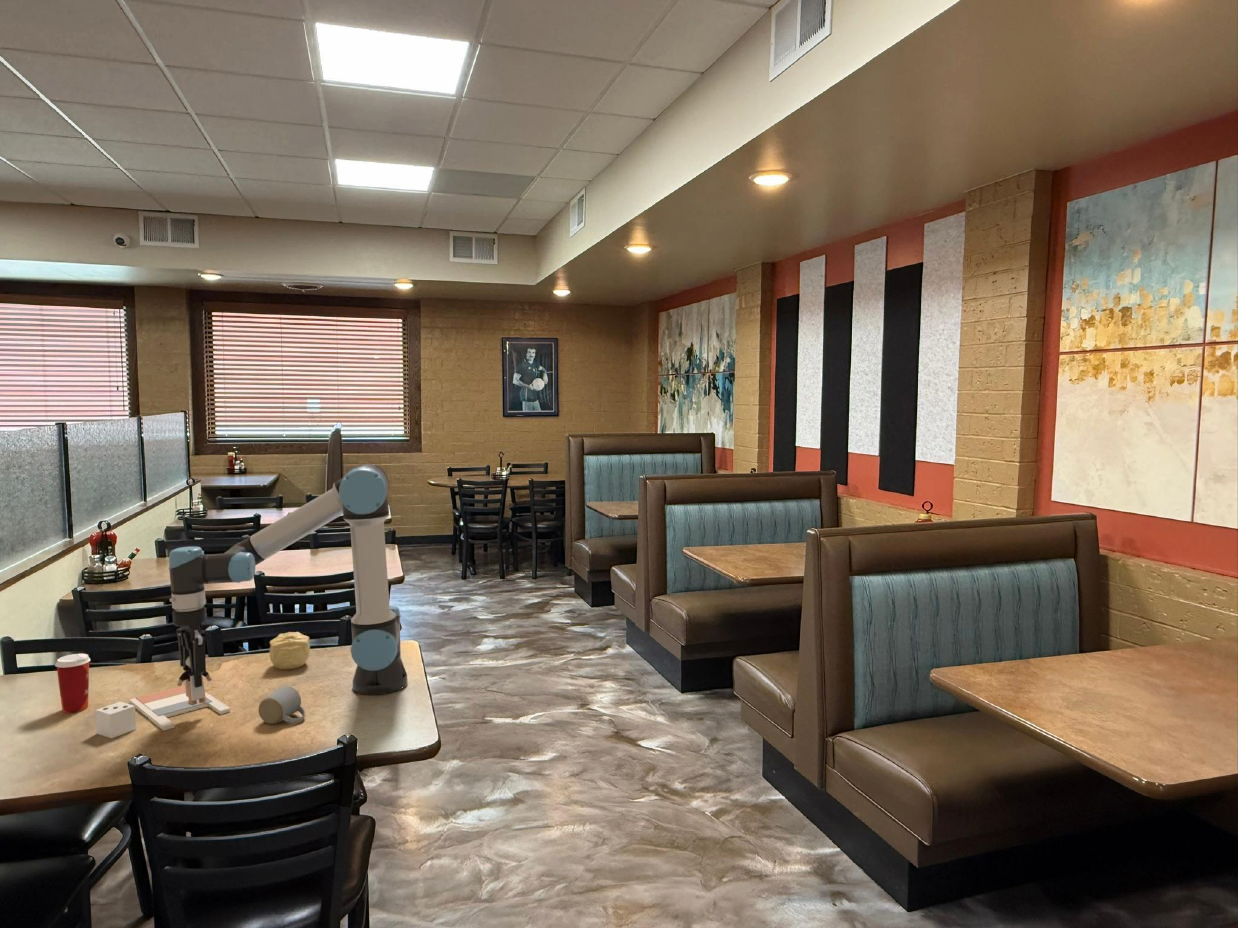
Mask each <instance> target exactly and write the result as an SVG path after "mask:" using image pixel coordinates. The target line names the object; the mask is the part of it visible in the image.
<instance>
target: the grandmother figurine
mask: <svg viewBox="0 0 1238 928" xmlns="http://www.w3.org/2000/svg"><path fill="white" fill-rule="evenodd" d="M186 665H187V666H188V667H189V668H191V665H190V657H188V658H187V660H186ZM188 674H191V669H190V670H187V671H184V672H183V673H182V674H181V675H180V676H179V677H178V682H177V684H176V686H177V687H180V686H183V685H182V684H183V682H185V680H187V679H188V682H187V689H188V698H189V702H188V704H189V705H195V704H197V701H196V700H199V703H204V702H206V701H207V700H208V699H207V698H206V696H205V692H206V690H205V684H204V682H203V691H204V697H203V698H200V699H196V700H192V698H191V683H190V677H189V675H188ZM202 675H203V678H204V677H205V679H206V680H207V682H211V681H212V680H213V679H212V677H211V676H210V674H209V672H208V671H207V670H206V672H205V673H202Z"/></svg>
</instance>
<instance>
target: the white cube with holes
mask: <svg viewBox="0 0 1238 928" xmlns="http://www.w3.org/2000/svg"><path fill="white" fill-rule="evenodd" d="M136 719H137V717H136V708H135V706H134V705H131V704H130V703H127V702H123V701H118V702H115V703H112V704H110V705H107V706H103V707H101V708H98V709H95V722H96V724H95V726H96V734H97V735H100V736H103V737H105V738H109V739H114V738H117V737H119V736H123V735H124V734H127V733H130V732H133V731H135V730H137V720H136Z"/></svg>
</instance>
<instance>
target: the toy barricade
mask: <svg viewBox="0 0 1238 928" xmlns="http://www.w3.org/2000/svg"><path fill="white" fill-rule="evenodd" d="M205 696H206V698H207V699H208V700H207V701H206V702H204V703H199V700H196V701H197V704H195V705H189V704H188V702H189V698H188V697H187V696H186V689H185V684H184V685H181V686H177V687H173V688H168V689H165V690H160V691H156V692H152V693H148V694H144V695H139V696H136V697H134V698H129V704H130V705H134V706H135V710H137V711H139V712H140V713H141V714H142V715H144V716H145V717H146V718H147V717H148V718H147V719H148V720H149V721H151V722H152V723H153V724H155V725H156V726H157V727H158V728H160V730H162V731H167V730H170V729H174V728H175V723H174V722H173V721H171V720H170V719H169V718H171V717H175V716H178V714H179V715H181V714H182V715H183V714H185V713H189V711H190V712H193V711H196V710H200V709H199V708H201V709H203V708H210V709H211V708H212V709H211V710H213V711H214V712H215V713H217V714H219V715H224V714H227V713H231V708H230V706H228V705H226V704H225V703H224V702H222V701H220V700H219V699H217V698H215V697H214V696H213V695H210V694H209V693H207V692H206V691H205Z"/></svg>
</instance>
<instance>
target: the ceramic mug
mask: <svg viewBox="0 0 1238 928" xmlns="http://www.w3.org/2000/svg"><path fill="white" fill-rule="evenodd" d="M297 712H298V713H300V714H301V715H302V716H301V717H297V718H296V717H295V718H293V717H292V715H294V714H296V713H297ZM258 714H259V716H260V719H261V720H262V721H263V722H265V723H266V724H269V725H276V724H278V723H281V722H283V721H285V722H286V723H288V724H300V723H301V722H303V721H304V720H305V717H306V710H305V709H304V707H302V698H301V695H300V694H299V691H298V690H296V688H294V687H292V686H291V685H282V686H280V687H278V688H277V689H275V690H274V691H273V692H271V693H270V694H269V695H267V696H265V697H264V698H263V699H262V700H261V701H260V703H259V705H258Z"/></svg>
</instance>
